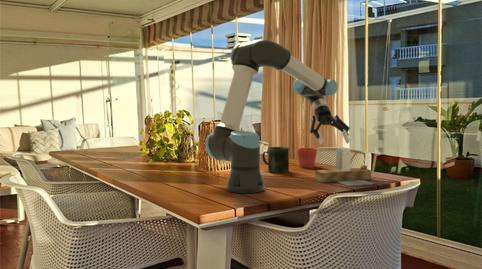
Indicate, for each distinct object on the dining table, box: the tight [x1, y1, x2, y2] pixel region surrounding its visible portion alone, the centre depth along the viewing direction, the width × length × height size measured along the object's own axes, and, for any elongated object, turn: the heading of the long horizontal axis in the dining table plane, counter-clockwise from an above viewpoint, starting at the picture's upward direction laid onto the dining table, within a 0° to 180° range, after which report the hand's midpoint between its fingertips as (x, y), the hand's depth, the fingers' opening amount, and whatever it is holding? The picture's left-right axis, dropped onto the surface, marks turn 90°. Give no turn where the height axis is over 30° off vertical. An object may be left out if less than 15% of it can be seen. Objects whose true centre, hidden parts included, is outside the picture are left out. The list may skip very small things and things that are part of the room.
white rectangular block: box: [335, 147, 352, 172], centre depth 185 cm, size 4×6×10 cm, turn 14°
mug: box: [261, 146, 290, 174], centre depth 209 cm, size 11×15×12 cm
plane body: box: [314, 164, 372, 183], centre depth 186 cm, size 24×7×6 cm, turn 104°
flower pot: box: [296, 147, 318, 168], centre depth 223 cm, size 11×11×10 cm
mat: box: [337, 179, 374, 187], centre depth 175 cm, size 12×9×1 cm
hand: (335, 142), depth 193 cm, fingers open, 13 cm apart
